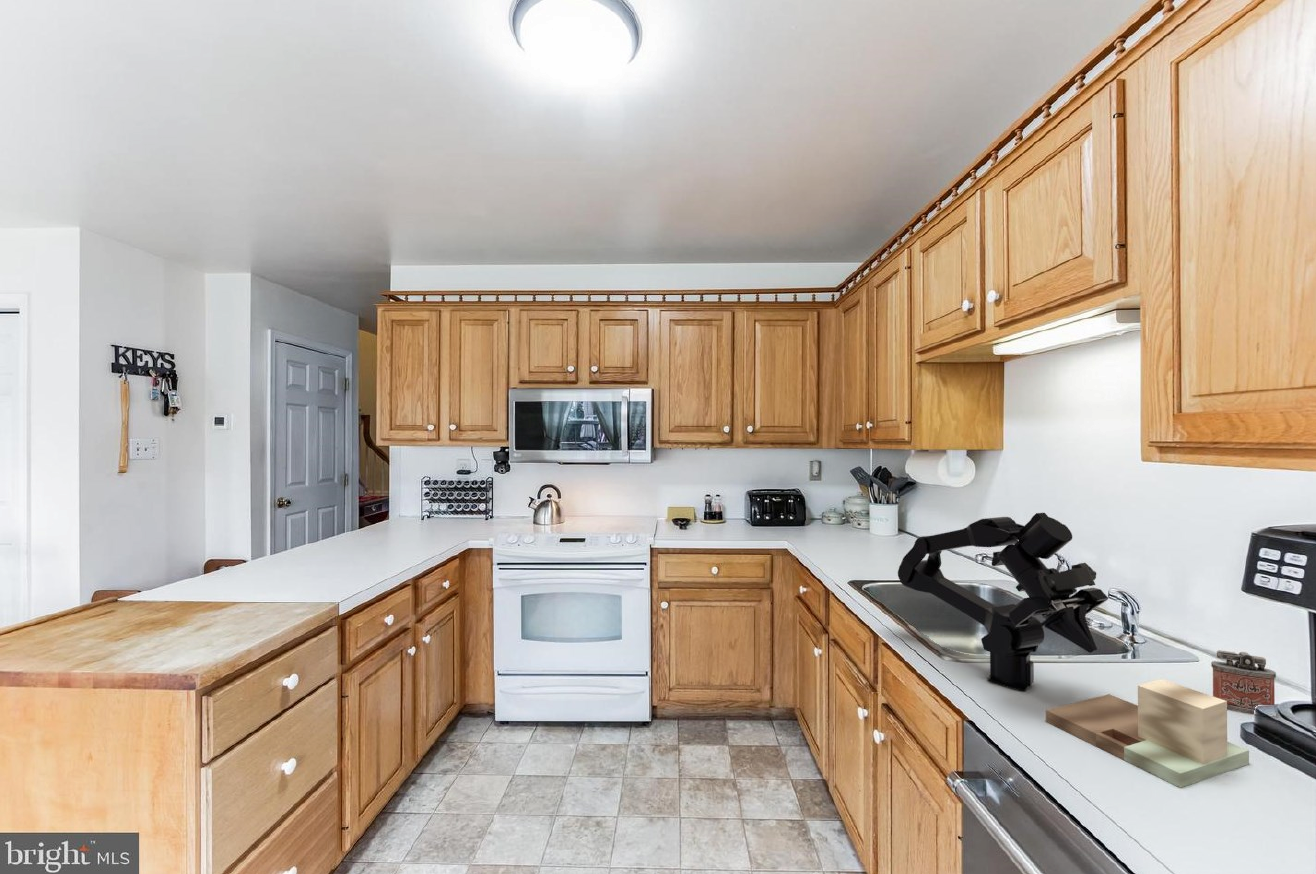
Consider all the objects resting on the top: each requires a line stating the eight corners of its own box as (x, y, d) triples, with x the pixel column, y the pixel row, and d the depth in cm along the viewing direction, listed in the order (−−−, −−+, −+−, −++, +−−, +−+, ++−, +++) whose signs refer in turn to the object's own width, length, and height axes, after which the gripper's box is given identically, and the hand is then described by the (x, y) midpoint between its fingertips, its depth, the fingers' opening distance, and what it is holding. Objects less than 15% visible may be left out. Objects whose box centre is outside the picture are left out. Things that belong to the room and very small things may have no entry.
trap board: (1045, 721, 96) (1045, 710, 95) (1109, 705, 101) (1109, 694, 101) (1180, 787, 78) (1180, 773, 78) (1249, 763, 83) (1248, 750, 83)
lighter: (1271, 710, 98) (1270, 654, 98) (1279, 719, 95) (1279, 661, 95) (1208, 700, 102) (1208, 645, 102) (1215, 708, 99) (1214, 652, 99)
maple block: (1138, 736, 87) (1137, 685, 87) (1161, 728, 89) (1161, 678, 89) (1203, 764, 79) (1203, 709, 79) (1227, 755, 82) (1226, 701, 82)
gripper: (1022, 552, 98) (1090, 636, 87) (1095, 544, 104) (1167, 621, 93) (983, 587, 105) (1042, 667, 94) (1054, 577, 111) (1116, 652, 101)
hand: (1093, 651), depth 96 cm, fingers closed
